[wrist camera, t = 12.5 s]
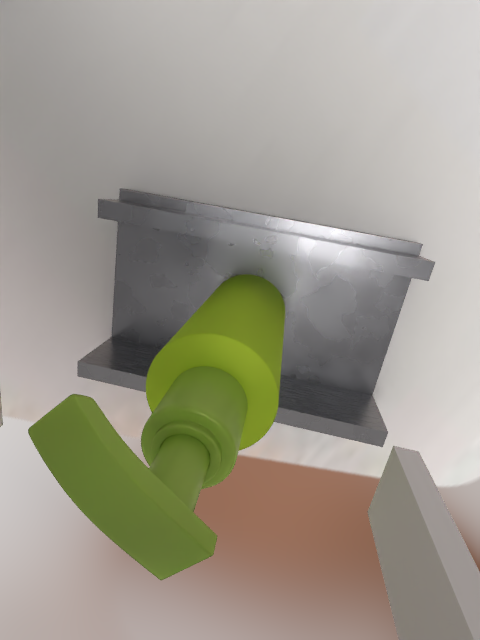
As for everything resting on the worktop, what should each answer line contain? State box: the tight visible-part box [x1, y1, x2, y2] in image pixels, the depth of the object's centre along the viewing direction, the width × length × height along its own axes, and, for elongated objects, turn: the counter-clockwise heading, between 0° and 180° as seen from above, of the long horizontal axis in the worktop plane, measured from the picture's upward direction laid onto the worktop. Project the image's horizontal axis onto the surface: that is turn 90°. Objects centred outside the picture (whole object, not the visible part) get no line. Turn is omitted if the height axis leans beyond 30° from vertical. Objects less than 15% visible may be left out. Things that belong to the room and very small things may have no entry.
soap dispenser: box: [28, 274, 285, 580], centre depth 18 cm, size 6×7×20 cm
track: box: [78, 189, 435, 447], centre depth 26 cm, size 14×22×6 cm, turn 80°
